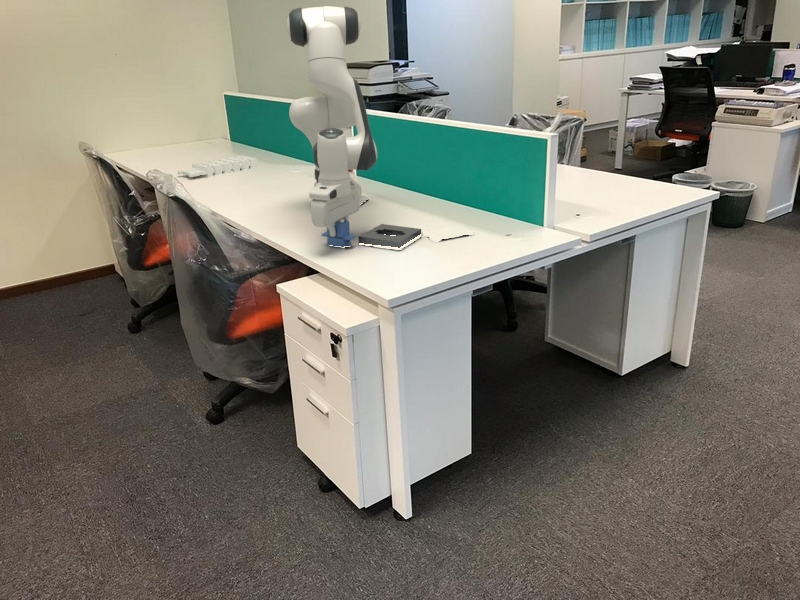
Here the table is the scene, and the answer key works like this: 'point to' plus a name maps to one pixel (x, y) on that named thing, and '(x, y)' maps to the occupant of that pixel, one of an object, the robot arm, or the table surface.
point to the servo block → (340, 234)
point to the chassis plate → (378, 237)
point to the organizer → (220, 166)
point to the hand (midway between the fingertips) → (338, 233)
